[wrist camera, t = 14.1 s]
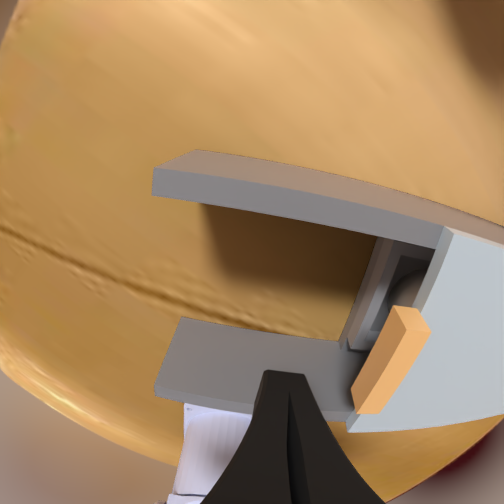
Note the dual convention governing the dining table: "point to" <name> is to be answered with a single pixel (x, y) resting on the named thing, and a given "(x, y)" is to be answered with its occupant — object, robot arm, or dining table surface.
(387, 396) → the lid
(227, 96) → the dining table surface
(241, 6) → the dining table surface
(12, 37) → the dining table surface
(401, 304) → the white rounded tapered block
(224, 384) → the housing
